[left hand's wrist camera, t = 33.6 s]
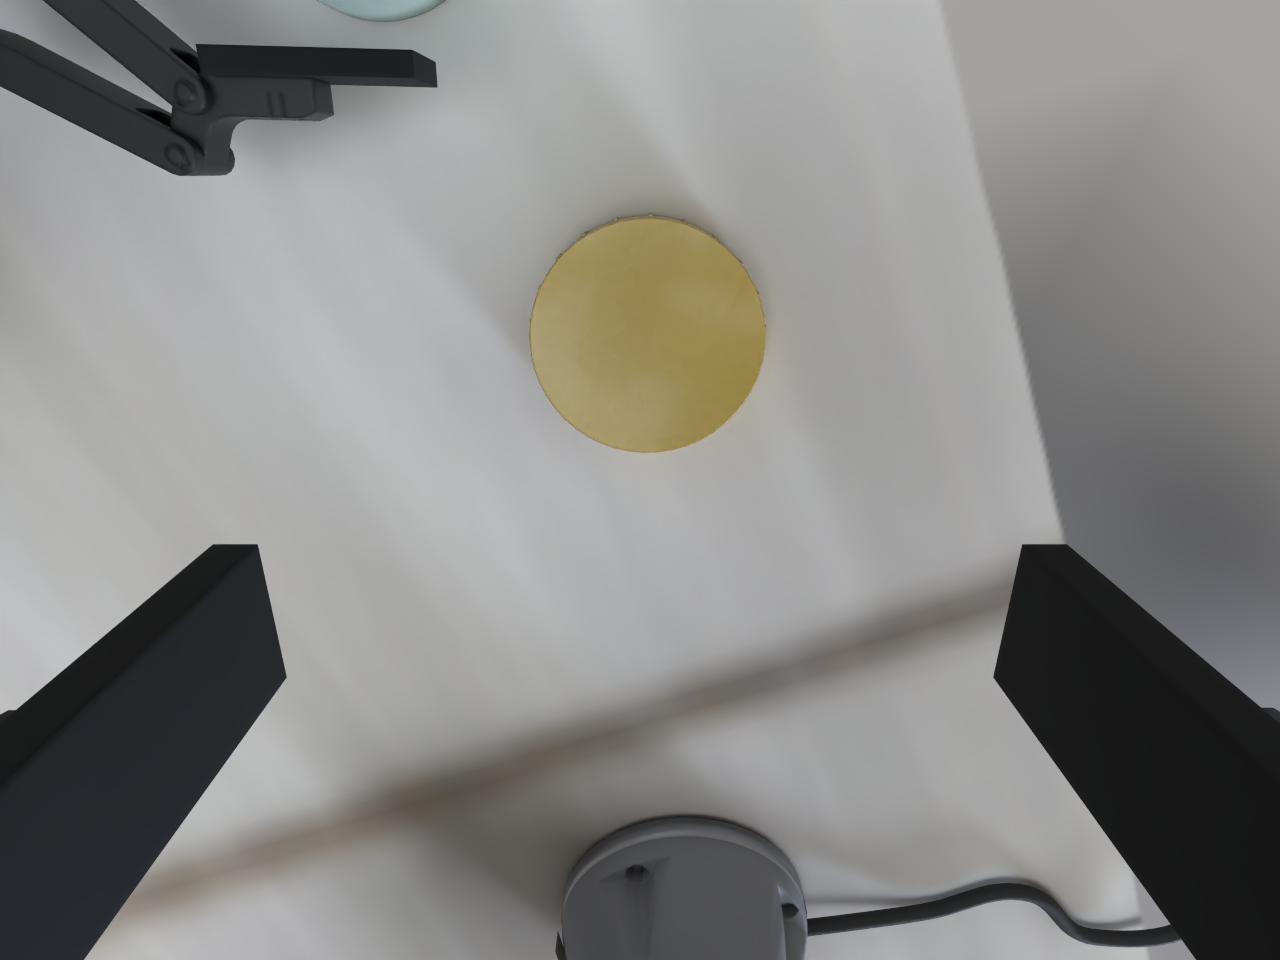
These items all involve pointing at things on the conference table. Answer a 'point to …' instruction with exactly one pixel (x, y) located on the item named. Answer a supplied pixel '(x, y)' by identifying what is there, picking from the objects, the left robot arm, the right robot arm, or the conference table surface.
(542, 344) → the lid
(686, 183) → the conference table surface
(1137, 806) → the left robot arm
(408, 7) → the jar
